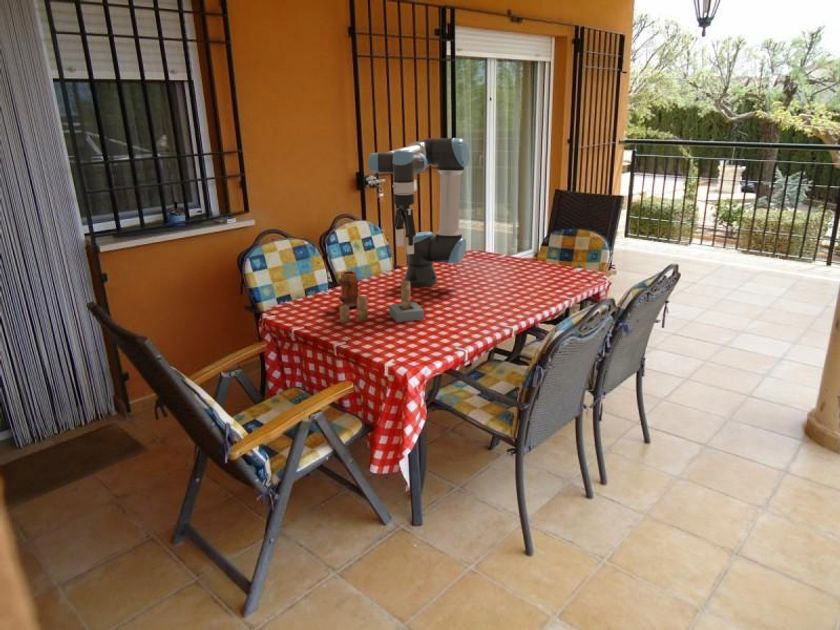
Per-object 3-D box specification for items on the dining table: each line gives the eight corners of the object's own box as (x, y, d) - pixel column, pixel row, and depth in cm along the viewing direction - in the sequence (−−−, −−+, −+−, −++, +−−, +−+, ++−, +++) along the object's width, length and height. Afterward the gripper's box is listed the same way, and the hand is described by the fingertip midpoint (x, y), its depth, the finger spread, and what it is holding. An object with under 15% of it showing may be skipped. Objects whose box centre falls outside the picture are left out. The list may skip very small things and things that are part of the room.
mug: (337, 303, 262) (335, 268, 257) (356, 301, 265) (355, 267, 260) (346, 314, 249) (344, 277, 244) (366, 311, 252) (364, 275, 247)
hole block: (415, 310, 252) (415, 302, 251) (423, 319, 242) (423, 310, 241) (389, 313, 249) (388, 304, 248) (396, 322, 239) (396, 313, 238)
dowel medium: (366, 317, 245) (365, 295, 242) (368, 320, 242) (367, 297, 239) (357, 318, 244) (356, 296, 241) (359, 321, 240) (358, 298, 238)
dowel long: (409, 314, 248) (408, 280, 243) (411, 317, 245) (411, 282, 240) (400, 315, 247) (399, 281, 242) (403, 318, 243) (402, 283, 239)
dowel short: (348, 319, 243) (347, 304, 241) (350, 322, 239) (349, 307, 238) (339, 320, 242) (338, 305, 240) (341, 323, 238) (340, 308, 236)
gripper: (385, 189, 240) (387, 243, 247) (403, 198, 218) (404, 258, 225) (404, 188, 242) (405, 242, 249) (424, 197, 220) (424, 256, 227)
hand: (405, 250), depth 237 cm, fingers open, 13 cm apart
